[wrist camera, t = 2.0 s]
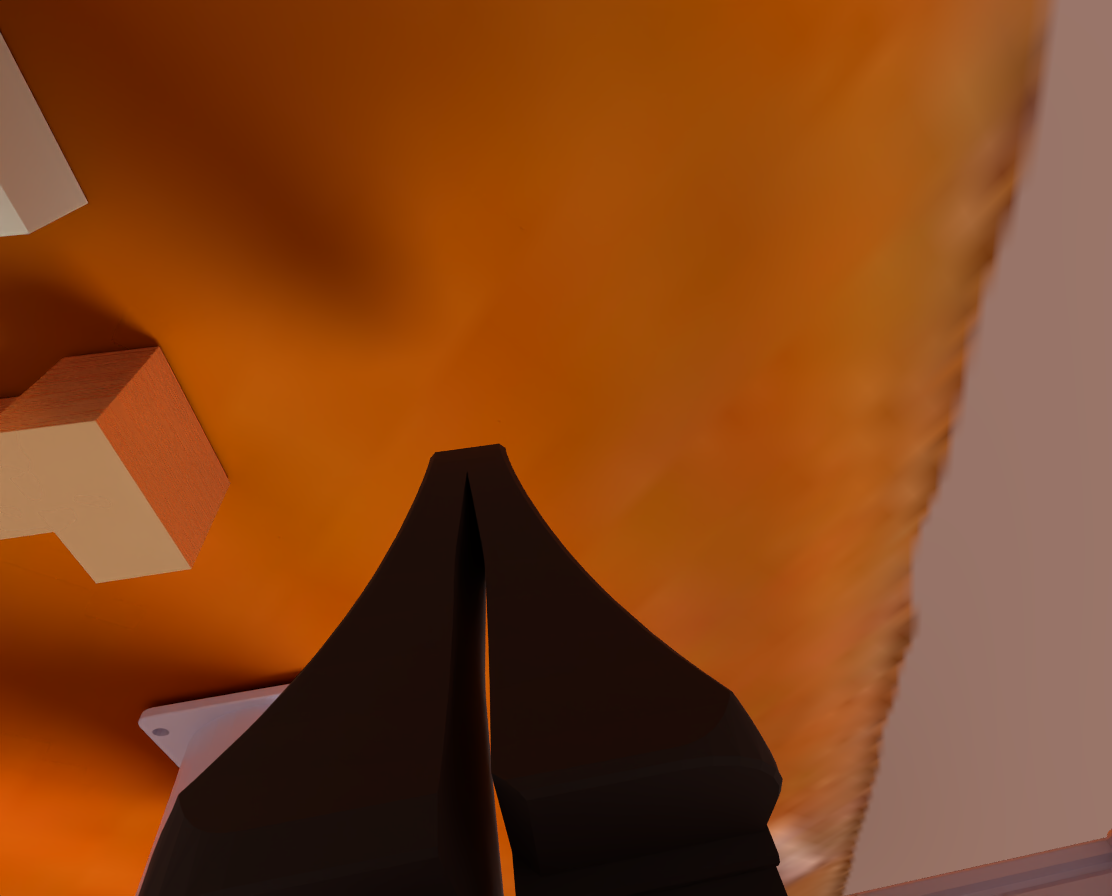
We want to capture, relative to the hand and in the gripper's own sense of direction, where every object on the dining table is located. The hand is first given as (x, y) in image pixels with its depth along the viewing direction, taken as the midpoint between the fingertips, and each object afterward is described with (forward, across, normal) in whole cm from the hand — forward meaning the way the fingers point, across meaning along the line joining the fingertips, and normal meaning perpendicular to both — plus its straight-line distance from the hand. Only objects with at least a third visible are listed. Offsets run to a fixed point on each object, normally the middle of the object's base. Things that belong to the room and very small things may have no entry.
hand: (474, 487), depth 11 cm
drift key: (+4, +10, 0) cm, 11 cm away
